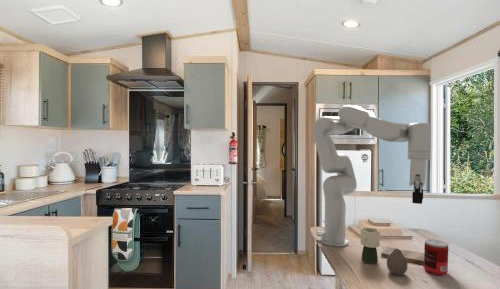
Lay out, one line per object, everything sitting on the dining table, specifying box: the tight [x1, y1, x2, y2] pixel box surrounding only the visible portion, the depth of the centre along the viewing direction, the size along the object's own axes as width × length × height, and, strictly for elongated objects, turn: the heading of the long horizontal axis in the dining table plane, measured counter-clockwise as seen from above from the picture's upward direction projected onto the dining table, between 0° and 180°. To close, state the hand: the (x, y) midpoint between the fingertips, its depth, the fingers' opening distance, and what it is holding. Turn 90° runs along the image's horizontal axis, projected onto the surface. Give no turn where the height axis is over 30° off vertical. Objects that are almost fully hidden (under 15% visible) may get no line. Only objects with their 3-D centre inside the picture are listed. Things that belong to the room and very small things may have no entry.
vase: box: [386, 248, 408, 277], centre depth 119 cm, size 7×7×9 cm
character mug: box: [359, 226, 381, 264], centre depth 130 cm, size 11×7×13 cm, turn 133°
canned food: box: [423, 238, 449, 277], centre depth 121 cm, size 8×8×11 cm
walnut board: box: [380, 246, 424, 266], centre depth 136 cm, size 16×10×2 cm, turn 58°
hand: (417, 201), depth 123 cm, fingers open, 9 cm apart
